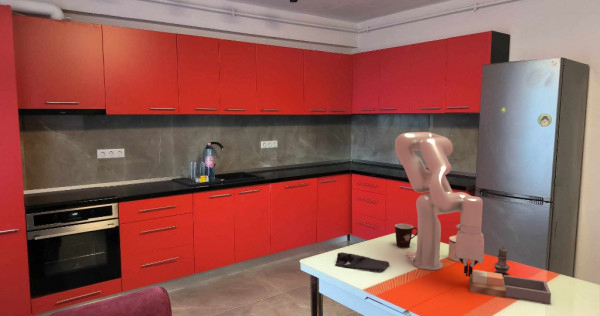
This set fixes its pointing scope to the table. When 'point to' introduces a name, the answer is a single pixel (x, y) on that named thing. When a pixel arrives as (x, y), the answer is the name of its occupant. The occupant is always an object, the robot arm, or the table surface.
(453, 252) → the teacup with lid
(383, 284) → the table surface
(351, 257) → the dark slate chunk
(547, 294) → the box
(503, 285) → the board
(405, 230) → the coffee mug
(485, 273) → the cream white block
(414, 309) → the table surface
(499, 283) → the salmon orange block
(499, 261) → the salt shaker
